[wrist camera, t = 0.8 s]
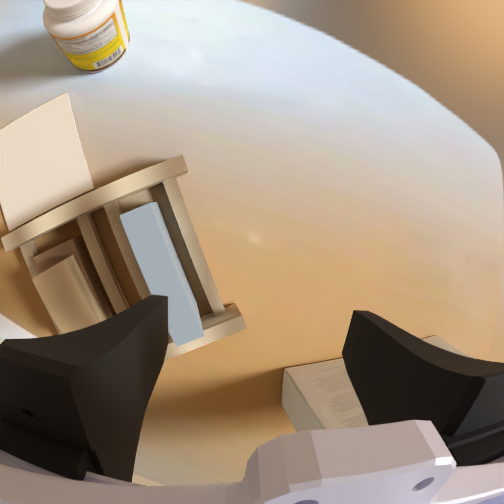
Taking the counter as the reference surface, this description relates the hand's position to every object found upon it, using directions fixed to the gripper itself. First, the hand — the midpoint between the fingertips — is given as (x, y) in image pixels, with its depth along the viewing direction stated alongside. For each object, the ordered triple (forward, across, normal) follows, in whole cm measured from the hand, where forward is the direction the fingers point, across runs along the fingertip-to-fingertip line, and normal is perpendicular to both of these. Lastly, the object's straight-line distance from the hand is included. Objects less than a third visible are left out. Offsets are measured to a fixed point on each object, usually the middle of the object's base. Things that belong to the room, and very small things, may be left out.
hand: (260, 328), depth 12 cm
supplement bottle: (+15, +15, -15) cm, 26 cm away
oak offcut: (+10, +14, +5) cm, 18 cm away
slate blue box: (+14, +7, +2) cm, 16 cm away
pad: (+13, +19, -5) cm, 23 cm away
